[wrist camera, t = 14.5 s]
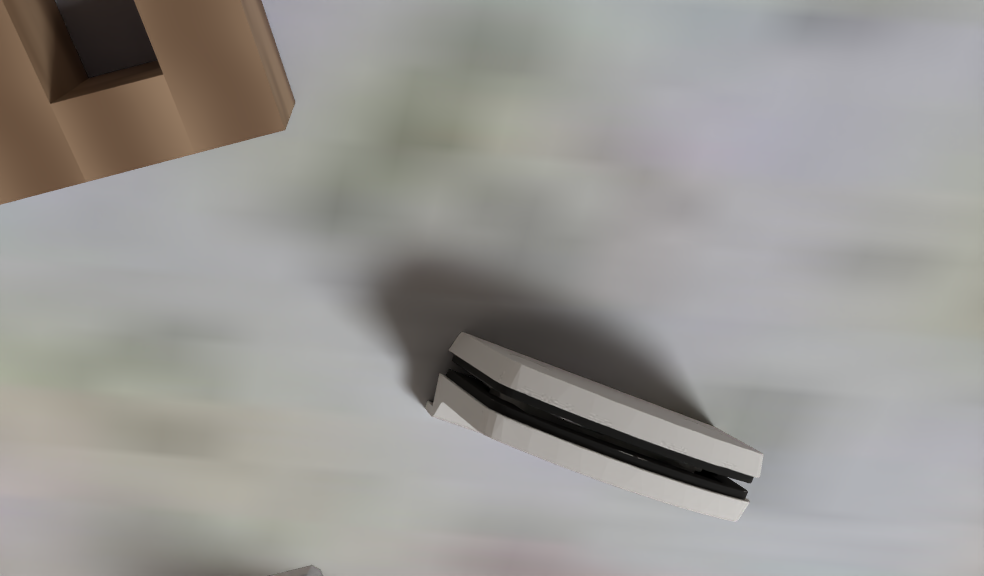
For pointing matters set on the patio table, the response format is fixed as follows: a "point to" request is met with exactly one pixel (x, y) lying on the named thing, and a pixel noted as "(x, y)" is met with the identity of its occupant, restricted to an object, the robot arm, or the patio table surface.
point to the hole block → (133, 92)
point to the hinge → (595, 429)
